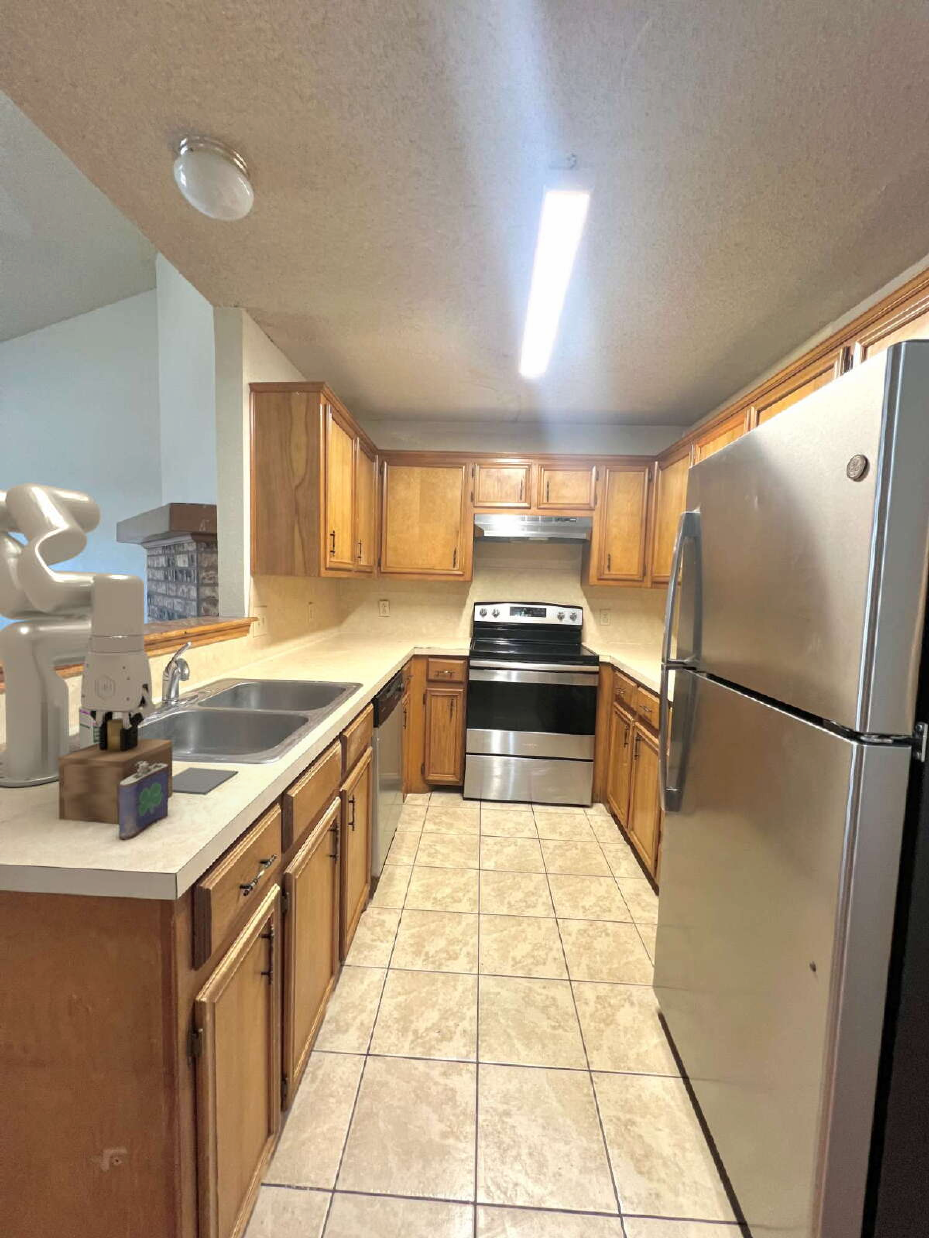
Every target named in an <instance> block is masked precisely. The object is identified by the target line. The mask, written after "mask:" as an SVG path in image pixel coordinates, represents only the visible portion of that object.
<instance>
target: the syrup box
mask: <svg viewBox="0 0 929 1238" xmlns="http://www.w3.org/2000/svg"><path fill="white" fill-rule="evenodd" d="M81 706H82V705H80V706H78V729H79V731H78V733H79V750H80V749H83V748H86V747H88V746H91V745H94V744H97V743H99V728H100V727H97V726H96V725H95V720H94V719H93V718H92V717H91V715H90V714H88V713H87V712H85V711H84V710H82V708H81ZM106 713H107V712H106ZM118 718H122V712H115V719H118Z"/></svg>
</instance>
